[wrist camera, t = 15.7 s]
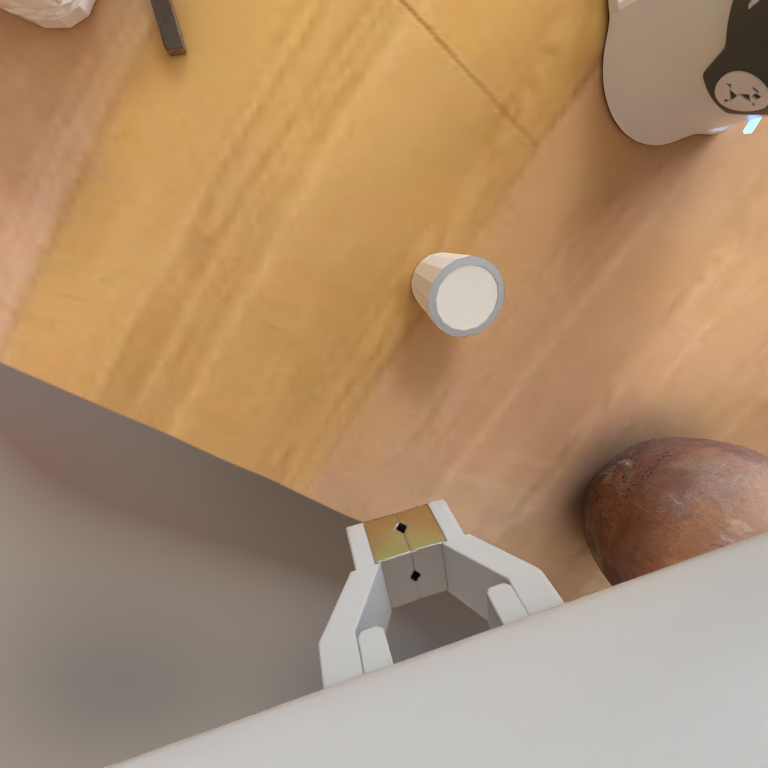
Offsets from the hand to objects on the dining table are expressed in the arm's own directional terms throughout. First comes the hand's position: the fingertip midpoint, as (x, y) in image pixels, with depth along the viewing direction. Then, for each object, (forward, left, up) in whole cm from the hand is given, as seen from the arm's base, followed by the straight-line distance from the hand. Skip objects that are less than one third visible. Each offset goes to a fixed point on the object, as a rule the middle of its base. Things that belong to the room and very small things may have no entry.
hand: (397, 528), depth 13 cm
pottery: (-2, +50, -31) cm, 59 cm away
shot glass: (-8, +10, -31) cm, 34 cm away
